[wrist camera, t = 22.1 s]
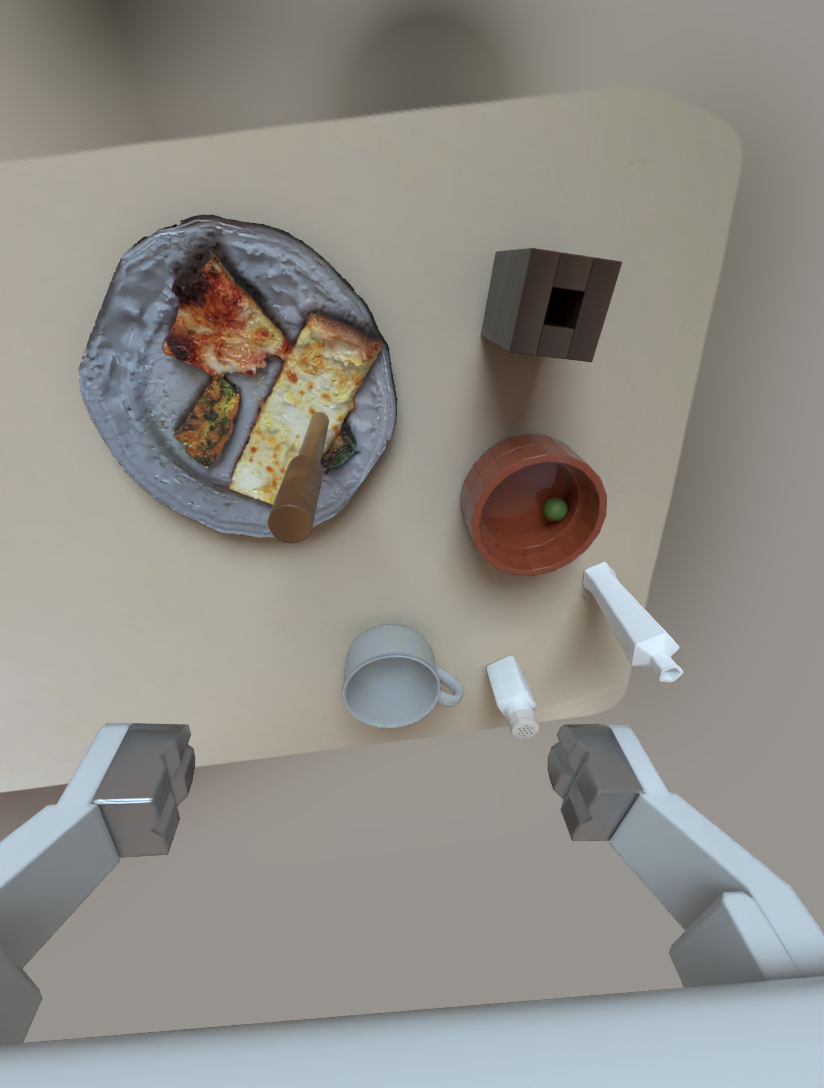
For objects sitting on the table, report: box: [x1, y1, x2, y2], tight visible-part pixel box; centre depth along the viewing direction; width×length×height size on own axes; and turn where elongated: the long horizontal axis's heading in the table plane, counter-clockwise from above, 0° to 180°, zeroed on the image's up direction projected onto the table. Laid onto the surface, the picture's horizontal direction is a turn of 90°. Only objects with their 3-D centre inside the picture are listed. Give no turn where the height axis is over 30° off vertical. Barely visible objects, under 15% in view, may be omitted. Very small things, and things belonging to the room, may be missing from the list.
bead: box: [543, 497, 568, 521], centre depth 46 cm, size 2×2×2 cm
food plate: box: [79, 215, 397, 538], centre depth 38 cm, size 25×23×4 cm
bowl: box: [461, 434, 607, 576], centre depth 44 cm, size 12×12×6 cm
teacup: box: [342, 624, 463, 729], centre depth 53 cm, size 14×11×8 cm
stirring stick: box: [268, 412, 329, 543], centre depth 30 cm, size 2×2×18 cm
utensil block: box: [481, 248, 622, 362], centre depth 34 cm, size 6×6×9 cm
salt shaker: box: [487, 656, 539, 739], centre depth 56 cm, size 4×4×10 cm
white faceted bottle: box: [583, 562, 683, 682], centre depth 47 cm, size 5×4×15 cm
